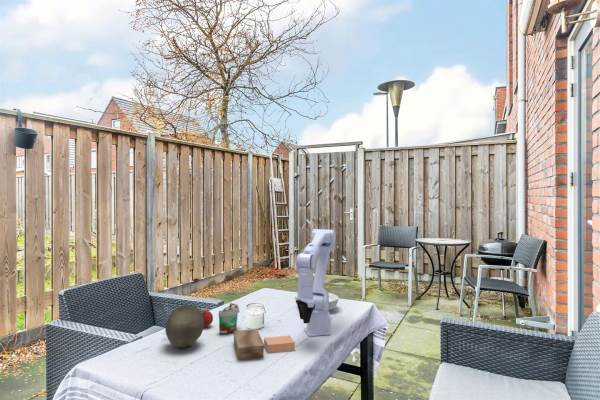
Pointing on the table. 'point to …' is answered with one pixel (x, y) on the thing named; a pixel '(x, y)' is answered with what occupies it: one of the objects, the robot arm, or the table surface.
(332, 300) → the serving bowl
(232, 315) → the food container
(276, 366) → the table surface
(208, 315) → the onion
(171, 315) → the cantaloupe
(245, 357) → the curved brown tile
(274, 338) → the peach block
